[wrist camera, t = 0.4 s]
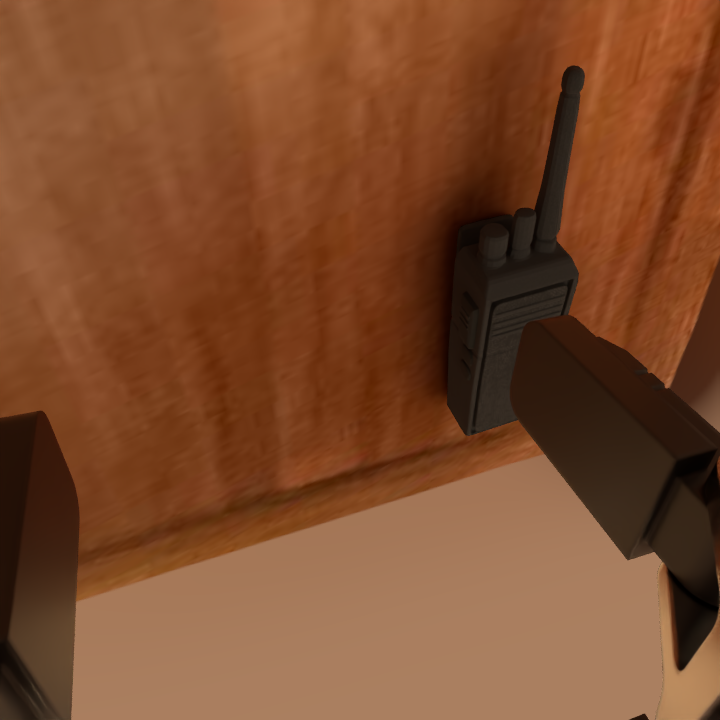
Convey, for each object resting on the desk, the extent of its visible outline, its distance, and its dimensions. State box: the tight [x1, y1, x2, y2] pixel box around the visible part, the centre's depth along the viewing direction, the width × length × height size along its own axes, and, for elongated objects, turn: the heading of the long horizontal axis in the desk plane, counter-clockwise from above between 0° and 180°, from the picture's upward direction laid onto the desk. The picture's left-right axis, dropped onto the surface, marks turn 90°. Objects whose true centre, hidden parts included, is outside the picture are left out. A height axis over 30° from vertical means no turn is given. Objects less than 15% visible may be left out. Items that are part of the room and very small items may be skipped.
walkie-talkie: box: [447, 66, 585, 436], centre depth 30 cm, size 6×6×20 cm
